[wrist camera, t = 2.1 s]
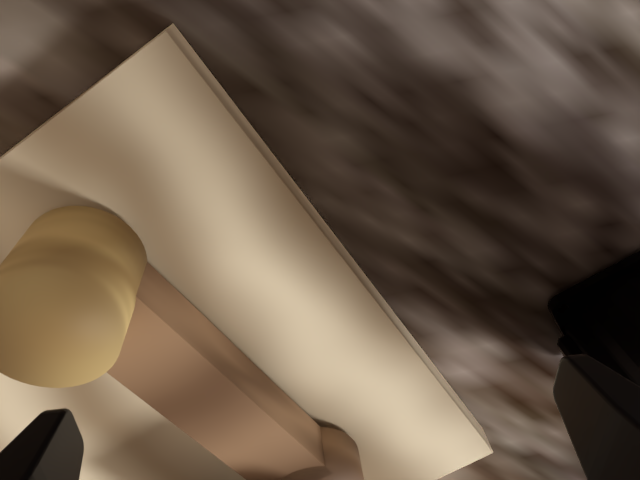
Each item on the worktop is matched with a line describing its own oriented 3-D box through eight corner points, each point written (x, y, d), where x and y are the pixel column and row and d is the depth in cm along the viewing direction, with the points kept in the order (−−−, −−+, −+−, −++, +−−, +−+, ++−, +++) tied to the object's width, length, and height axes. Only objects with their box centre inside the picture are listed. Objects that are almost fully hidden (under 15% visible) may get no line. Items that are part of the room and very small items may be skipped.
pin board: (173, 23, 16) (122, 78, 10) (482, 428, 27) (545, 567, 21) (-289, 381, 21) (-508, 561, 15) (136, 597, 32) (108, 749, 26)
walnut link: (375, 461, 25) (394, 545, 22) (300, 499, 26) (306, 585, 23) (89, 179, 16) (46, 245, 13) (-9, 251, 17) (-74, 330, 14)
